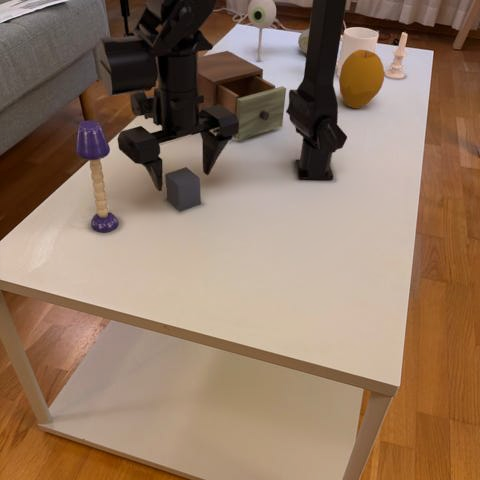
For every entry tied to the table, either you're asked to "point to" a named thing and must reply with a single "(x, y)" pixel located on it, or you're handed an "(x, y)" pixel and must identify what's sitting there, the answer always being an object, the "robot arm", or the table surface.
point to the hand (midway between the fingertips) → (183, 181)
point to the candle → (398, 60)
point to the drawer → (253, 104)
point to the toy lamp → (96, 170)
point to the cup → (356, 43)
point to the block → (183, 189)
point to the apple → (361, 78)
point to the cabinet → (221, 73)
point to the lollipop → (261, 16)
